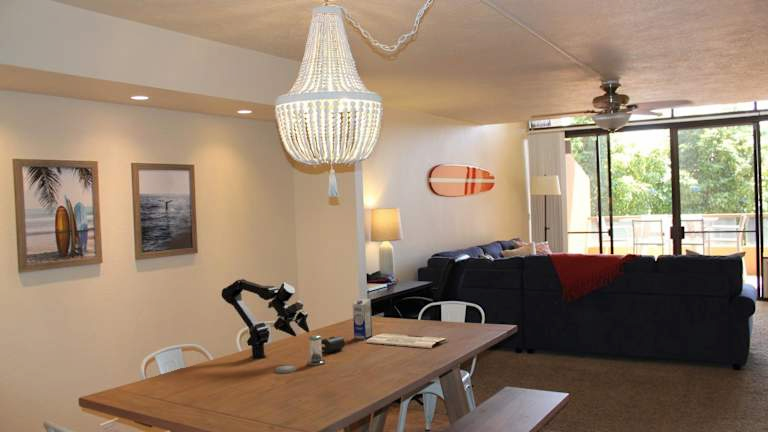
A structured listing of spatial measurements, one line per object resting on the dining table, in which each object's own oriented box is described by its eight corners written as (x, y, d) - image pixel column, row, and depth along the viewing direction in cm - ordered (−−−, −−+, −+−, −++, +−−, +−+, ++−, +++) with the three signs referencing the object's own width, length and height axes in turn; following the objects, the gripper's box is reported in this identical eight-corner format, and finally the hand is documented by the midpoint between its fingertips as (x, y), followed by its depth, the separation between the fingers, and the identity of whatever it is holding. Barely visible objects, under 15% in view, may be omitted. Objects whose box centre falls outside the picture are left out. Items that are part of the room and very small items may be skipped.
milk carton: (372, 337, 352) (370, 298, 351) (365, 339, 346) (363, 300, 346) (361, 336, 356) (359, 298, 355) (354, 338, 350) (352, 300, 349)
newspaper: (448, 342, 332) (448, 336, 332) (429, 350, 316) (429, 344, 316) (385, 337, 352) (384, 332, 352) (364, 345, 335) (364, 339, 335)
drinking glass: (308, 356, 300) (307, 336, 300) (320, 354, 302) (319, 334, 302) (311, 358, 295) (310, 338, 295) (323, 357, 297) (322, 336, 297)
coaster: (273, 369, 291) (273, 367, 291) (293, 367, 294) (293, 364, 294) (277, 374, 282) (277, 372, 282) (298, 371, 285) (298, 369, 285)
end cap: (331, 354, 315) (330, 340, 315) (320, 353, 320) (319, 339, 319) (345, 350, 323) (344, 336, 323) (334, 349, 327) (334, 335, 327)
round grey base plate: (305, 362, 301) (305, 356, 301) (322, 360, 304) (322, 353, 304) (309, 366, 294) (309, 359, 294) (327, 364, 297) (327, 357, 296)
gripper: (277, 299, 297) (298, 325, 291) (304, 293, 313) (324, 318, 307) (264, 316, 301) (285, 342, 296) (291, 309, 317) (311, 334, 312)
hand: (302, 333), depth 302 cm, fingers open, 9 cm apart
